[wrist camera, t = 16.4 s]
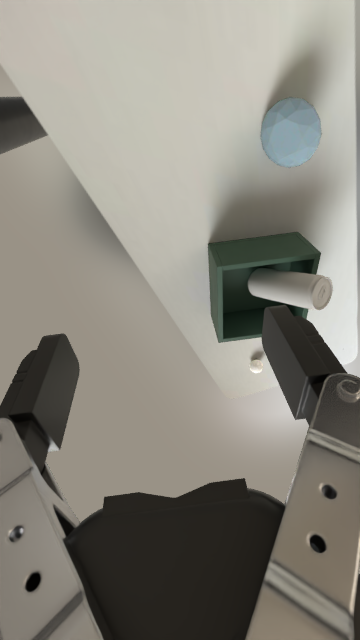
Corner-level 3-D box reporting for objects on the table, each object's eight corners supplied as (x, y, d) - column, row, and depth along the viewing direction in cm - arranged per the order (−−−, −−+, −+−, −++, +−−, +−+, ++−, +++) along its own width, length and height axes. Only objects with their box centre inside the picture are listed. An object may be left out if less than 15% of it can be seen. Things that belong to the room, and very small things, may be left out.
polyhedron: (262, 357, 63) (266, 367, 61) (258, 366, 65) (262, 376, 63) (250, 356, 63) (254, 366, 60) (246, 365, 65) (249, 375, 62)
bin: (210, 315, 55) (218, 342, 49) (207, 243, 46) (216, 266, 40) (286, 305, 55) (303, 331, 49) (298, 231, 46) (321, 252, 40)
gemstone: (339, 80, 32) (321, 96, 30) (330, 154, 37) (314, 172, 35) (275, 89, 36) (255, 103, 34) (275, 154, 41) (257, 170, 39)
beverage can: (241, 289, 47) (306, 304, 37) (253, 262, 47) (321, 270, 37) (259, 299, 50) (323, 315, 40) (269, 274, 50) (337, 284, 40)
